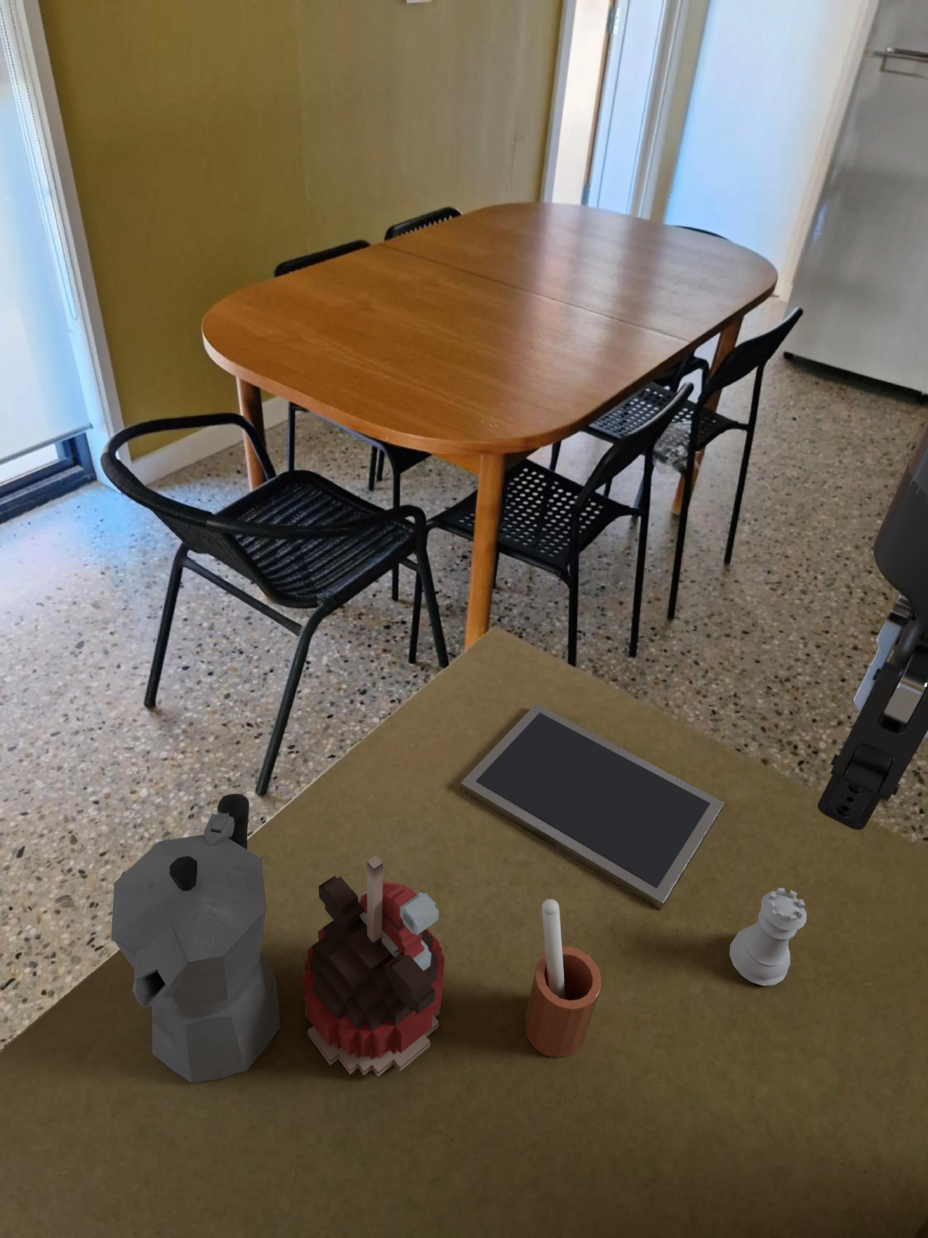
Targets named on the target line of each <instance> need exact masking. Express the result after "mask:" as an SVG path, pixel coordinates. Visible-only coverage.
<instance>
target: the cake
mask: <svg viewBox="0 0 928 1238" xmlns="http://www.w3.org/2000/svg"><path fill="white" fill-rule="evenodd" d="M318 898H319V899H320V901H321V902H322V903H323V904H324V911H325V912H326V913H327V914H328V915H329V916H330V918H331V919H332V921H330V922H329V923H327V924H326V925H324V926H322V928H320V929H319V930H318V931H317V937H318V938H317V939H318V940H317V942H315V943H313V945H311V946H310V947H308V948H307V950H306V952H307V960H306V961H304V973H303V974H301V983H302V994H303V997H304V1006H305V1009H304V1015H305V1016H306V1018H307V1019H308V1021H309V1022H310V1023H311V1025H312V1026H311V1027H310V1028H309V1029H307V1036H308V1037H309V1038H310V1040H311V1041H312V1043H313V1044H314V1045H315V1047H316V1048H317V1049H318V1051H319V1052H320V1053H321V1055H322V1056H323V1058H324V1059H325V1060H326V1062H327V1063H328V1065H329V1066H332V1065H333V1064H334V1063H335V1062H337V1061H338V1060H339V1062H340V1063H341V1064H342V1066H343V1067H344V1069H345V1070H346V1071H347V1072H348V1074H349V1075H352V1073H354V1072H356V1070H359V1071H360V1073H361V1074H362V1075H363V1076H366V1075H367V1074H368V1073H369V1072H370V1071H373V1072H374V1074H375V1075H376V1076H377V1078H378V1077H380V1076H382V1074H383V1073H385V1072H386V1071H387V1070H388V1069H390V1068H391V1067H392V1066H393V1065H394V1067H395V1068H396V1069H397V1070H398V1071H399V1072H401V1071H403V1070H404V1069H405V1068H406V1067H407V1066H409V1065H410V1064H411V1063H412V1062H413V1061H415V1060H416V1059H417V1058H418V1057H419V1056H420V1055H421V1054H423V1053H424V1052H425V1051H427V1050H428V1049H429V1048H430V1047H431V1040H430V1039H429V1038H428V1036H429V1035H430V1034H432V1033H433V1032H434V1031H435V1030H436V1029H438V1028H439V1026H440V1021H439V1020H438V1019H437V1018H436V1017H437V1016H439V1015H440V1012H441V1007H442V998H443V997H442V996H443V986H444V985H443V984H444V972H445V960H446V956H445V955H444V954H443V947H442V946H441V945H440V940H438V939H437V938H436V937H435V936H434V935H433V934H432V932H431V931H430V930H429V929H428V928H429V927H431V926H432V925H433V924H434V923H436V922H437V921H438V920H439V914H440V913H439V912H440V910H439V909H438V908H437V907H436V902H435V901H434V900H433V899H432V898H431V897H430V896H429V895H428V894H427V892H424V893H423V892H422V891H421V892H419V893H417V892H415V891H414V890H413V889H412V888H411V887H409V888H408V887H407V885H406V884H405V883H401V882H400V883H398V882H394V881H392V882H391V881H385V880H384V862H383V861H382V859H380V857H379V856H377V855H374V856H372V857H371V858H370V859H368V860H367V861H366V891H365V892H363V893H362V894H361V895H358V894H357V893H356V892H355V891H354V890H353V889H352V888H351V887H350V886H349V884H348V883H347V882H346V880H344V878H343V877H342V876H338V877H337V876H336V875H333V876H332V877H330V878H328V879H327V880H326V881H324V882H322V883H321V884H320V885H318Z"/></svg>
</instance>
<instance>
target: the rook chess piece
mask: <svg viewBox="0 0 928 1238" xmlns="http://www.w3.org/2000/svg"><path fill="white" fill-rule="evenodd" d="M797 895H798V892H796V891H794V890H793V889H790V891H789V892H787V891H786V889H785V887H778V888H777V889H776V890H773V891H769V892H767V893H766V894H764V895H763V897H762V899H761V900H760V910H759V911H758V914H757V915H758V917H757V918H758V919H757V921H756V922H755V923H754V924H752V925H748V926H746V927H743V929H741V930H739V931H738V932H737V934H736V935H735V937H734V938H733V940H732V941H731V943H730V945H729V957H730V960H731V963H732V966H733V967H734V968H735V970H736V971H737V972H738V973H739V974H740V976H741V977H743V978H744V979H746V980H747V981H748V982H751V983H753V984H757V985H760V986H763V987H765V986H775V985H777V984H779V983H780V982H783V981H784V979H785V978H786V976H787V973H788V970H789V968H790V967H791V951H790V949H789V948H790V947H789V942H790V939H792V938H793V937H794V936H795V935H796V933H797V931H798V930H800V929H801V928H803V927H804V926H805V925H806V923H807V911H806V909H805V906H806V903H805V901H804V899H803V898H801V899H798V898H797Z"/></svg>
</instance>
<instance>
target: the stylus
mask: <svg viewBox="0 0 928 1238" xmlns="http://www.w3.org/2000/svg"><path fill="white" fill-rule="evenodd" d="M560 912H561V911H560V905H559V903H558V901H556V900H555V899H552V898H547V899H546V900H544V901H543V903H542V905H541V913H542V914H541V915H542V925H543V938H544V949H545V953H546V963H547V975H548V987H549V989H550V990H551V992H552V993H553V994H555V995H556V996H558V997H559V998H561V999H565V986H564V971H563V956H562V947H563V944H562V943H563V941H562V929H561V928H562V927H561V913H560Z"/></svg>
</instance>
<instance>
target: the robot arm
mask: <svg viewBox="0 0 928 1238" xmlns="http://www.w3.org/2000/svg"><path fill="white" fill-rule="evenodd" d="M873 558H874V561H875V564H876V566H877V569H878V571H879V572H880V574H881V575H882V577H883V578H884V579H885V580H886V581H887V583H889V585H890V586H892V588H894V590H896V591H897V592H898V593H899V595H898V597H897V599H896V601H895V603H894V605H893V607H892V609H890V610H889V612H888V615H887V616H886V618H885V620H884V622H883V624H882V626H881V628H880V630H879V632H878V635H877V636H876V642H875V644H876V648H877V651H876V653H875V655H874V656H873V659H872V660H871V663H870V664H869V667H868V668H867V669H866V672H865V675H864V677H862V680H861V682H860V685H859V687H858V688H857V690H856V692H855V695H854V697H853V705H854V707H855V708H856V709H857V711H858V716H857V717H856V720H855V722H854V724H853V726H852V728H851V729H850V732H849V733H848V736H847V738H846V740H844V739H842V740H841V742H840V744H839V746H838V749H837V751H838V752H840V753H839V754H837V753H835V754H834V756H833V757H832V760H831V761H830V763H829V765H831V766H832V768H831V771H830V772H829V774H830V779H829V780H828V782H827V785H826V787H825V789H824V791H823V792H822V795H821V797H820V798H819V801H818V802H817V809H818V810H819V812H820V813H821V814H822V815H824V816H826V817H828V818H830V819H832V820H834V821H836V822H838V823H840V824H842V825H844V826H846V827H847V828H850V829H852V830H856V831H861V830H864V829H865V828H866V826H867V824H868V823H869V821H870V819H871V817H872V815H873V814H874V812H875V810H876V808H877V807H878V805H879V803H880V802H881V800H883V801H886V802H889V800H890V798H891V796H892V795H893V796H896V795H897V793H898V791H899V789H900V786H901V784H900V783H899V782H900V781H901V779H902V777H903V775H904V773H905V772H906V770H907V768H908V766H909V765H910V763H911V761H912V760H913V758H914V757H915V754H916V753H917V751H918V749H919V747H920V745H921V744H922V742H923V741H924V740H925V739H928V418H927V420H926V421H925V424H924V427H923V429H922V431H921V433H920V436H919V438H918V441H917V443H916V445H915V448H914V449H913V452H912V455H911V457H910V458H909V460H908V463H907V465H906V467H905V470H904V472H903V474H902V476H901V479H900V482H899V483H898V485H897V489H896V491H895V493H894V496H893V498H892V500H891V502H890V505H889V507H888V509H887V511H886V514H885V516H884V518H883V521H882V523H881V525H880V527H879V529H878V532H877V534H876V537H875V538H874V542H873ZM892 652H893V653H892ZM891 653H892V654H891ZM890 655H891V656H890ZM889 657H890V658H889ZM888 660H889V661H888Z"/></svg>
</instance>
